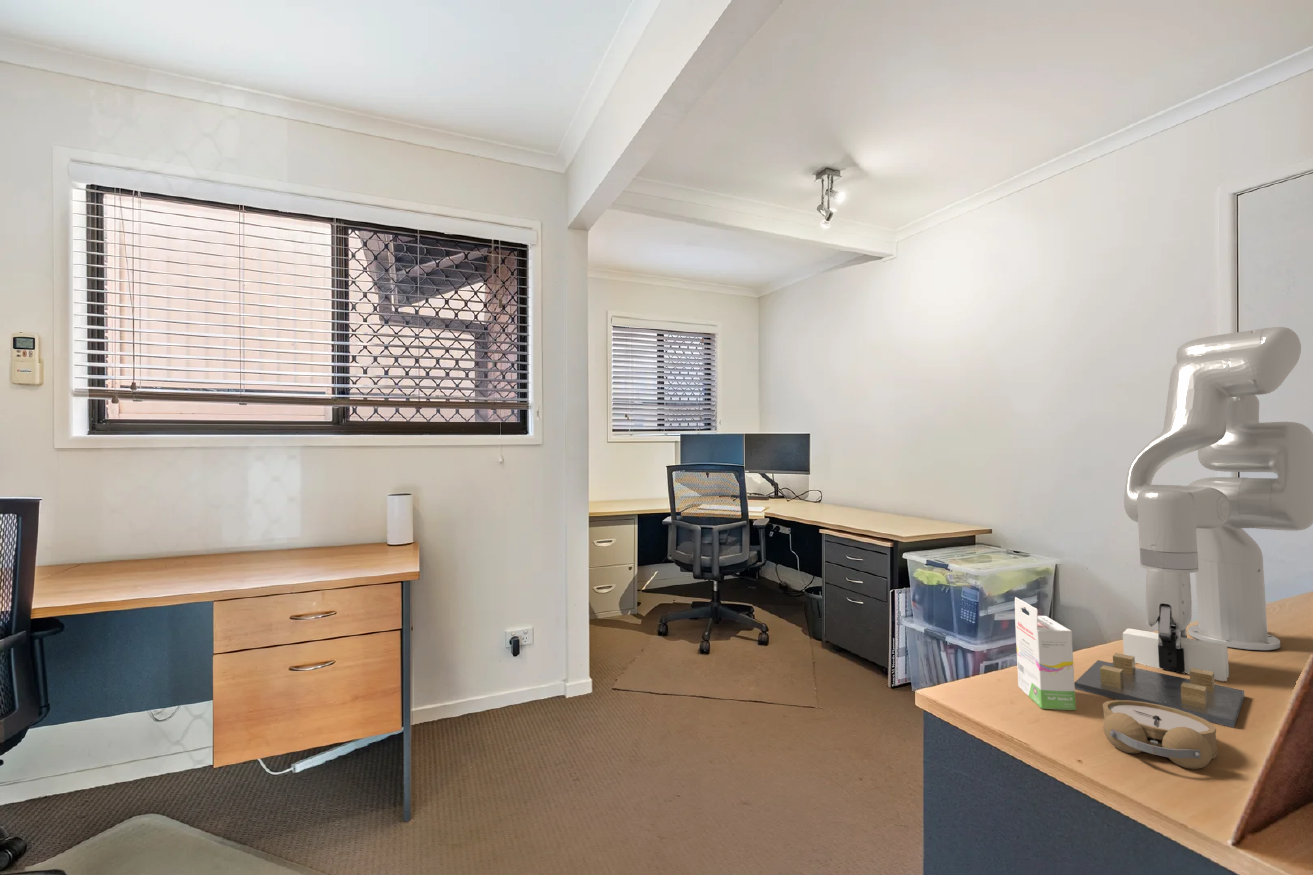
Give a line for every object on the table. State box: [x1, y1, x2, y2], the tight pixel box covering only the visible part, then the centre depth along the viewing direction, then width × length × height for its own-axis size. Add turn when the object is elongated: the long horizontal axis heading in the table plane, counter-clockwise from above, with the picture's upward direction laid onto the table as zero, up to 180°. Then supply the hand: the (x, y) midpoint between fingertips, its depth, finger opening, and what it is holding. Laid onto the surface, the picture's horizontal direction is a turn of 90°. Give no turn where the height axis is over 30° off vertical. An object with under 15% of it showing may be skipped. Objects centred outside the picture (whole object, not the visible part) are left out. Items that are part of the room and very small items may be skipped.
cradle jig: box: [1074, 652, 1246, 729], centre depth 89 cm, size 14×18×4 cm
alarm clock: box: [1102, 699, 1218, 770], centre depth 74 cm, size 11×5×15 cm
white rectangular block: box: [1122, 627, 1230, 682], centre depth 98 cm, size 4×13×5 cm, turn 40°
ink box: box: [1014, 596, 1077, 711], centre depth 88 cm, size 9×5×15 cm, turn 168°
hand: (1174, 665), depth 98 cm, fingers closed on white rectangular block, 4 cm apart
